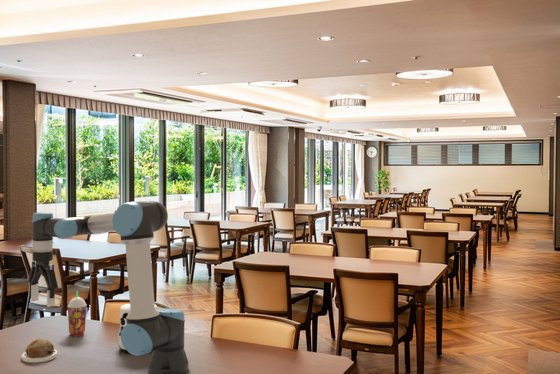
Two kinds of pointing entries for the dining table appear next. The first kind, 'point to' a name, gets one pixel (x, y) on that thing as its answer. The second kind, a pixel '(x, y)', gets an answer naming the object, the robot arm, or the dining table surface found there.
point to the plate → (37, 360)
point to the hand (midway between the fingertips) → (42, 303)
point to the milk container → (124, 322)
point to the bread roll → (39, 348)
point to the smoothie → (77, 316)
